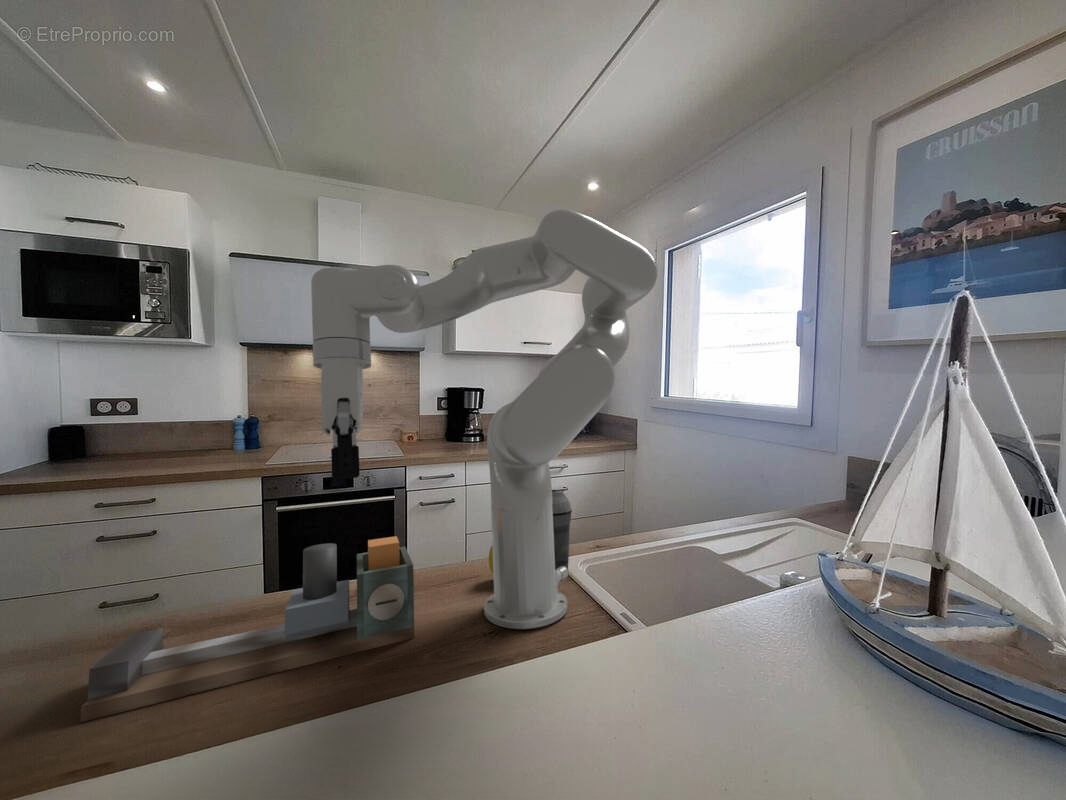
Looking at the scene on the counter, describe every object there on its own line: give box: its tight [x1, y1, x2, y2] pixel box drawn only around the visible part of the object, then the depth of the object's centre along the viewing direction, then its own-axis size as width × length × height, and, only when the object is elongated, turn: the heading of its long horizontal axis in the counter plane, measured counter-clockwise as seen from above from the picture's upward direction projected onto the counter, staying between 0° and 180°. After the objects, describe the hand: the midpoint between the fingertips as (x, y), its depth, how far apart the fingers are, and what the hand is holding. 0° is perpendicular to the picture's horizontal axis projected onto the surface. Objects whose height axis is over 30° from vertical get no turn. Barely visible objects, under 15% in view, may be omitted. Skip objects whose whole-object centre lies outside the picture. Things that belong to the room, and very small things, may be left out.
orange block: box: [367, 535, 400, 571], centre depth 55 cm, size 4×4×4 cm
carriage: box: [284, 542, 350, 640], centre depth 52 cm, size 7×7×10 cm
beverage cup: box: [552, 489, 573, 570], centre depth 74 cm, size 7×7×20 cm
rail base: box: [80, 546, 415, 723], centre depth 50 cm, size 32×10×10 cm, turn 115°
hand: (346, 475), depth 54 cm, fingers open, 9 cm apart
